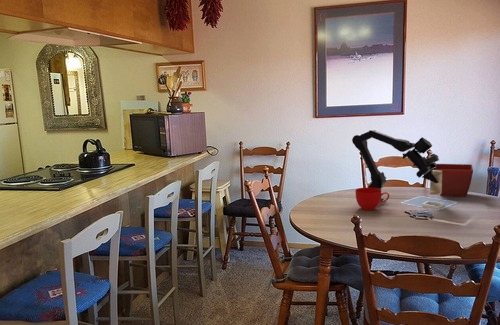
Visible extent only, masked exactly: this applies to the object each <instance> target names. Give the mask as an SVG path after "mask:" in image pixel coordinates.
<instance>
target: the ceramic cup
mask: <svg viewBox="0 0 500 325" xmlns="http://www.w3.org/2000/svg"><path fill="white" fill-rule="evenodd" d="M383 195H387V197H386V198H385V199H383V200H381V198H382V196H383ZM389 198H390V194H389V193H388V192H386V191H385V192H382V189H381V190H380V189H377V188H368V187H360V188H359V187H358V188H356V189H355V199H356V202H357V205H358V206H359V207H360V208H361V209H362V210H363V211H375V209H376V208H377V207H378V206H379V205H380V204H382V203H384V202H386V201H388V200H389Z"/></svg>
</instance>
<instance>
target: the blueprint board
mask: <svg viewBox="0 0 500 325" xmlns="http://www.w3.org/2000/svg"><path fill="white" fill-rule="evenodd" d="M427 201H433V202H441V203H444V206H443V207H441V208H440V209H433V208H426V207H422V204H423V203H425V202H427ZM459 203H460V202H458V201H452V200H448V199H441V198H435V197H429V196H423V195H419V196H416V197H412V198H409V199H406V200H402V201H400V202H399V204H402V205H404V206H405V205H406V206H407V205H408V206H411V207H418V208H422V209H427V210H432V211H437V212H440V211H442V210H444V209H447V208H450V207H453V206H456V205H457V204H459ZM428 205H432V204H428ZM435 206H438V205H435Z"/></svg>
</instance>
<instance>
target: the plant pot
mask: <svg viewBox="0 0 500 325" xmlns="http://www.w3.org/2000/svg"><path fill="white" fill-rule="evenodd" d="M436 164H437V166H436V170H440V171H442V192H441V194H440V195H439V196H445V197H447V196H448V197H459V198H460V197H461V198H466V197H467V196H468V193H469V190H470V188H471V187H470V186H471V185H472V179H473V174H474V168H473V164H471V163H469V164H466V163H465V164H463V163H459V164H458V163H436Z"/></svg>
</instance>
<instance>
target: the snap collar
mask: <svg viewBox="0 0 500 325" xmlns="http://www.w3.org/2000/svg"><path fill="white" fill-rule="evenodd" d="M428 204H432V205H428ZM435 205H438V206H435ZM443 206H444V203H441V202H433V201H427V202H425V203H423V204H422V207H426V208H433V209H440V208H441V207H443ZM426 208H425V209H426Z"/></svg>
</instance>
